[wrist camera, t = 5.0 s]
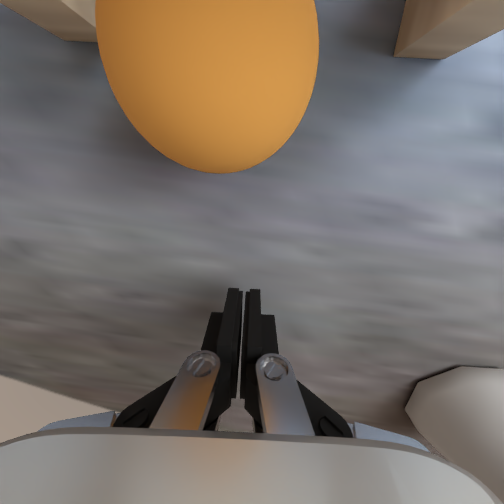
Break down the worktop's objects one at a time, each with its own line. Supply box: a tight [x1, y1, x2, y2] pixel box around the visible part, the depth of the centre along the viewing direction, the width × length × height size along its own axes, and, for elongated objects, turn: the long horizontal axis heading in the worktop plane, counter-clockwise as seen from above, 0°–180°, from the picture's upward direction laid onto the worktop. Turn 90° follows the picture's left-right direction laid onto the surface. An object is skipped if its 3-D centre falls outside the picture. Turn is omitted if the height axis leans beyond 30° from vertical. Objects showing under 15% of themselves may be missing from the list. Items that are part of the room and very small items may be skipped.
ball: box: [95, 0, 319, 174], centre depth 7 cm, size 6×6×6 cm
